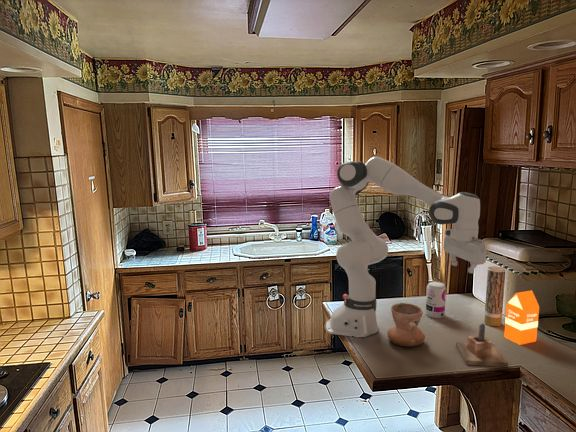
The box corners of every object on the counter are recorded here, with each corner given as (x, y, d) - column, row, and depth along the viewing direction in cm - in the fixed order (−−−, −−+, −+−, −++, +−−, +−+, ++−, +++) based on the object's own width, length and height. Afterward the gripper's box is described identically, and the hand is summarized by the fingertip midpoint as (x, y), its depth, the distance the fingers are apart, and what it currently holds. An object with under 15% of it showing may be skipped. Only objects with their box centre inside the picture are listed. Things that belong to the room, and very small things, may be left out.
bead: (476, 356, 154) (477, 343, 153) (466, 348, 160) (467, 336, 159) (491, 355, 155) (492, 342, 154) (481, 347, 161) (482, 335, 160)
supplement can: (446, 313, 196) (447, 282, 194) (441, 320, 190) (443, 288, 187) (428, 310, 201) (429, 280, 198) (423, 316, 194) (424, 285, 191)
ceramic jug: (430, 351, 161) (432, 316, 159) (392, 352, 161) (394, 316, 159) (416, 332, 179) (417, 299, 177) (382, 332, 179) (383, 300, 177)
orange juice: (503, 336, 173) (507, 290, 169) (520, 333, 176) (524, 287, 172) (520, 345, 166) (524, 296, 162) (536, 341, 168) (541, 293, 165)
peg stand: (465, 364, 152) (467, 331, 150) (455, 345, 166) (457, 315, 163) (506, 366, 150) (509, 333, 148) (493, 347, 164) (495, 317, 162)
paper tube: (484, 325, 183) (488, 270, 179) (483, 319, 189) (487, 265, 185) (502, 328, 181) (506, 271, 176) (500, 321, 187) (504, 267, 183)
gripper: (492, 240, 154) (488, 276, 157) (454, 228, 173) (452, 261, 176) (477, 241, 152) (474, 278, 155) (441, 229, 171) (439, 262, 174)
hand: (462, 269), depth 166 cm, fingers open, 8 cm apart
